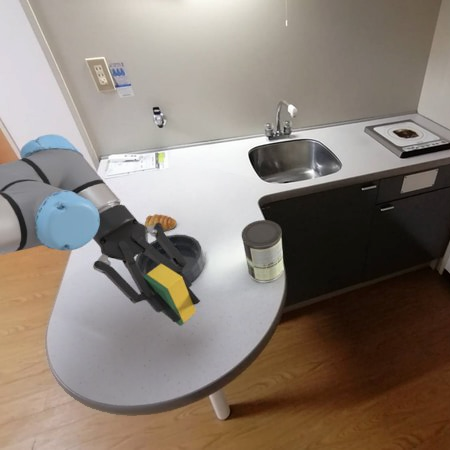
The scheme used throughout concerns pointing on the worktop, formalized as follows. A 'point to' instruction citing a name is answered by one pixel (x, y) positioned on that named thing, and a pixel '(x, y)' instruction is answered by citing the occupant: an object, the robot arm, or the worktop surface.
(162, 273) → the sponge
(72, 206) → the robot arm
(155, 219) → the pastry
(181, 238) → the bowl
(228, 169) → the worktop surface
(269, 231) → the coffee can
